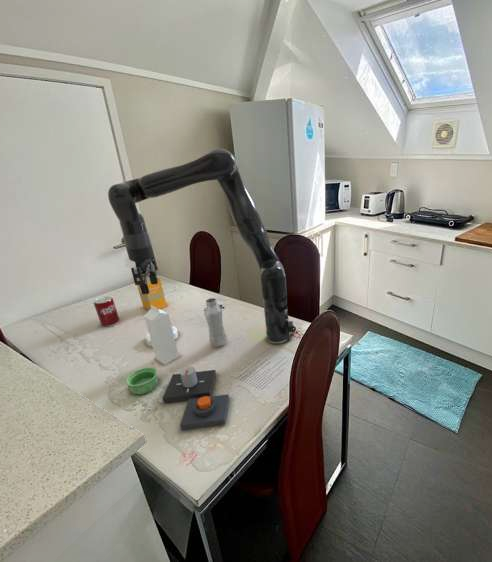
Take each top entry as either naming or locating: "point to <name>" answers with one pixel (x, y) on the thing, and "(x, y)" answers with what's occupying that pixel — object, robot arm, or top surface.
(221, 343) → the plastic bottle
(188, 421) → the button block
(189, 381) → the brew dial
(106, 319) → the soda can
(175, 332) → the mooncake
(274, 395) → the top surface
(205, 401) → the power button
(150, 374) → the ramekin
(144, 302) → the orange juice
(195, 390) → the brew base
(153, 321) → the milk
